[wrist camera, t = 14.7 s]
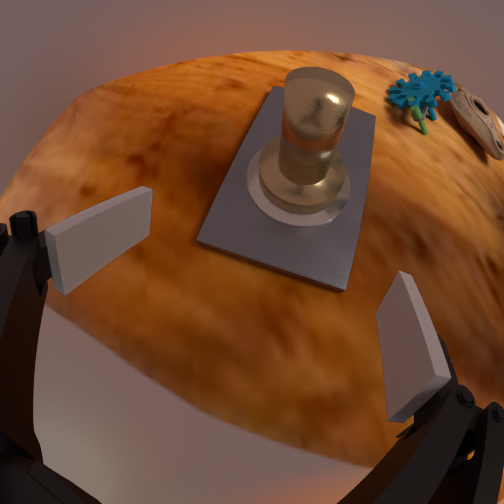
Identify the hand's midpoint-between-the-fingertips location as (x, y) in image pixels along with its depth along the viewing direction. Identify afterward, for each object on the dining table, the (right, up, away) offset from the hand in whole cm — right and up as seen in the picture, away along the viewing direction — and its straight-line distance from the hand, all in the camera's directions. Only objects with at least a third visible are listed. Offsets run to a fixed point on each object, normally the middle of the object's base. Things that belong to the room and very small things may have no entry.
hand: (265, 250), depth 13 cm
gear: (+20, +19, +15) cm, 31 cm away
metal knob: (+3, +6, +9) cm, 12 cm away
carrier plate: (+4, +8, +11) cm, 14 cm away
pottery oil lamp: (+31, +17, +14) cm, 38 cm away
